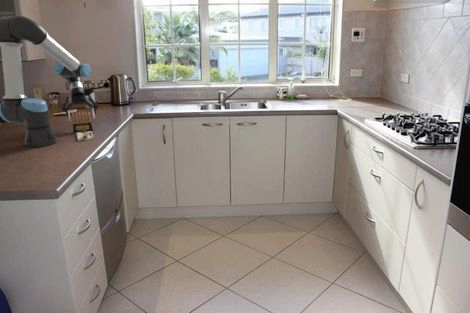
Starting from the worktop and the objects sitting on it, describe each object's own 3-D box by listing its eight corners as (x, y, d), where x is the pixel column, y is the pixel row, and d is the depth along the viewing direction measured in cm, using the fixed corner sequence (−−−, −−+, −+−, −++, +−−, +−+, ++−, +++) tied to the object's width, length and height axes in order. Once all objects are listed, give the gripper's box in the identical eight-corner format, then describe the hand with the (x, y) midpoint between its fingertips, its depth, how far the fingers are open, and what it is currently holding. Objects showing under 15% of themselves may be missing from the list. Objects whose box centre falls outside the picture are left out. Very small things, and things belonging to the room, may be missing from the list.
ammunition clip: (92, 130, 232) (90, 110, 228) (92, 131, 230) (90, 111, 227) (73, 132, 229) (70, 112, 225) (73, 132, 227) (70, 112, 223)
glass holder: (92, 108, 310) (90, 90, 306) (77, 108, 314) (74, 90, 309) (98, 106, 319) (96, 88, 314) (83, 106, 322) (81, 88, 318)
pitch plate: (78, 141, 207) (77, 137, 206) (76, 134, 222) (76, 131, 221) (93, 139, 210) (93, 135, 209) (91, 133, 225) (90, 129, 224)
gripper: (98, 93, 244) (104, 120, 235) (55, 96, 234) (60, 125, 226) (98, 85, 238) (104, 113, 229) (54, 88, 228) (58, 117, 219)
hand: (82, 119), depth 227 cm, fingers open, 13 cm apart
